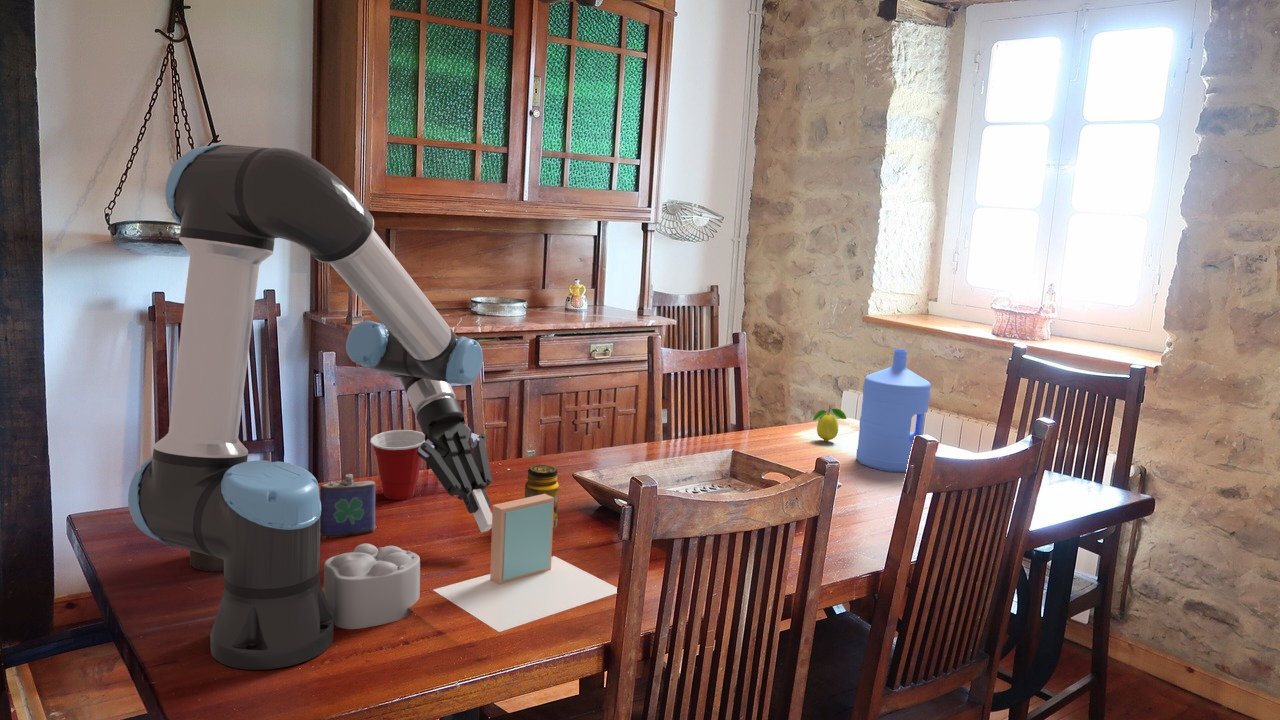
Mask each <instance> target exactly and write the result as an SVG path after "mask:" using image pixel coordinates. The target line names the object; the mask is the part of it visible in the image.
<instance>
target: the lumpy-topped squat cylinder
mask: <svg viewBox="0 0 1280 720" xmlns="http://www.w3.org/2000/svg"><path fill="white" fill-rule="evenodd" d="M420 582H421V559H420V555H418V554H417V553H415V552H413V551H410V550H405V549H402V548H400V547H398V546H395V545H386V546H384V547H382V546H380V547H378V548H377V547H376V546H375V545H373V544H371V543H361V544H358V545H357V546H355V548H354V549H353V551H351V552H345V553H344V552H343V553H341V554H337V555H334V556H331V557H329V558H328V559H327V560H325V561H324V564H323V593H324V596H325V598H326V601H327V604H328V606H329V609H330V612H331V615H332V617H333V622H334V626H335V627H337V628H341V629H346V630H357V629H366V628H370V627H376V626H382V625H386V624H390V623H393V622H397V621H400V620H403V619H404V618H406V617H408V616H409V615H411V614H413V613H414V611H413V610H412V609H410V607H412V606H413V605H415V604H416V603H417V602H418V601H419V599H420V592H421V591H420V589H421V583H420Z"/></svg>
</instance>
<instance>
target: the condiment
mask: <svg viewBox="0 0 1280 720" xmlns="http://www.w3.org/2000/svg"><path fill="white" fill-rule="evenodd" d="M526 479H527V481H526V483H525V484H524V498H527V497H532V496H537V495H541V494H547V495H549V496H551V497H554V514H553V531H554V530H556V529H557V527H558V515H559V513H558V512H559V491H560V485H559V482H558V469H557V468H556V467H555V466H552V465H550V464H549V465H548V464H536V465H531V466H530V467H529V468H528V470H527V478H526Z"/></svg>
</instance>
